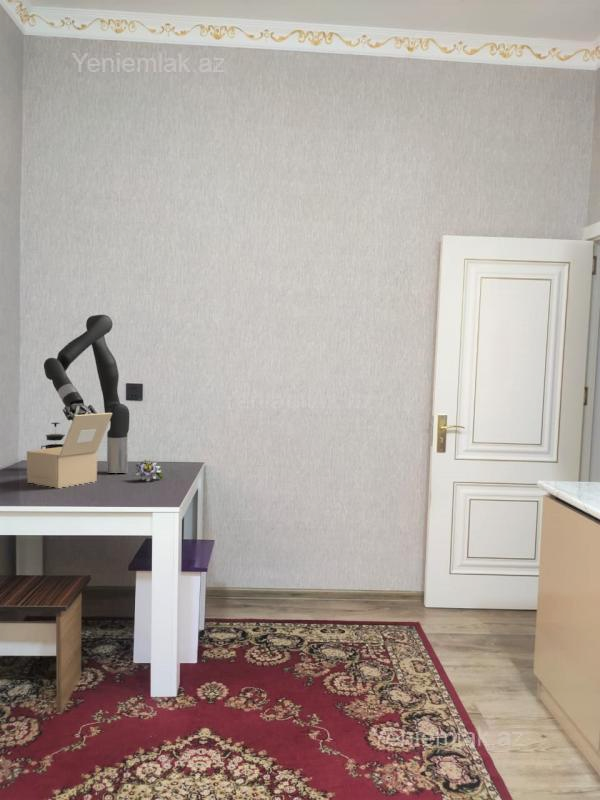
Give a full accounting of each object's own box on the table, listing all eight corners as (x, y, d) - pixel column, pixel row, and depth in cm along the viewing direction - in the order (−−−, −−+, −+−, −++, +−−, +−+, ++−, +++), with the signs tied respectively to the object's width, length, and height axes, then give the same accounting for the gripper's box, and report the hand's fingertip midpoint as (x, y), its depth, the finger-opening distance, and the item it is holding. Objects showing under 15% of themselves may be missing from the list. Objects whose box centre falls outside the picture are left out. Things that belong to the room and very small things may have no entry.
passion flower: (148, 494, 288) (133, 473, 283) (142, 485, 297) (128, 465, 292) (169, 479, 291) (155, 458, 286) (162, 470, 300) (149, 451, 295)
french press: (67, 467, 322) (67, 421, 321) (66, 470, 313) (66, 423, 312) (42, 468, 319) (42, 421, 318) (40, 471, 310) (40, 423, 309)
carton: (25, 483, 278) (25, 451, 278) (66, 476, 297) (66, 446, 296) (57, 489, 268) (57, 455, 267) (97, 481, 286) (97, 450, 285)
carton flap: (74, 415, 262) (76, 416, 262) (111, 412, 278) (112, 413, 278) (59, 455, 268) (60, 456, 267) (96, 450, 284) (97, 451, 284)
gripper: (60, 391, 270) (79, 420, 264) (88, 390, 282) (106, 418, 276) (52, 403, 273) (70, 432, 267) (79, 402, 285) (97, 430, 279)
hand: (88, 425), depth 272 cm, fingers open, 8 cm apart
